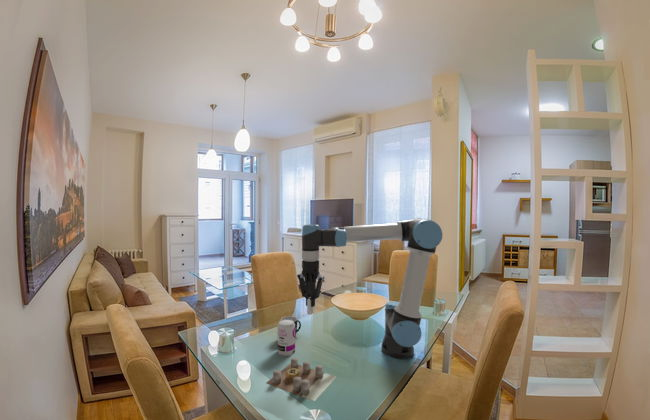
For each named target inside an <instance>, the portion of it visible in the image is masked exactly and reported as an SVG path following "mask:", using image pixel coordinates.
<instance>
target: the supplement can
mask: <svg viewBox="0 0 650 420" xmlns="http://www.w3.org/2000/svg"><path fill="white" fill-rule="evenodd" d="M295 352H296V337H295V323H294V321H293V320H290V319H284V320H281V321H280V320H279V322H278V323H277V354H278V355H279V356H282V357H283V356H284V357H285V356H286V357H287V356H288V357H289V356H293V355H294V354H295Z"/></svg>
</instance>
